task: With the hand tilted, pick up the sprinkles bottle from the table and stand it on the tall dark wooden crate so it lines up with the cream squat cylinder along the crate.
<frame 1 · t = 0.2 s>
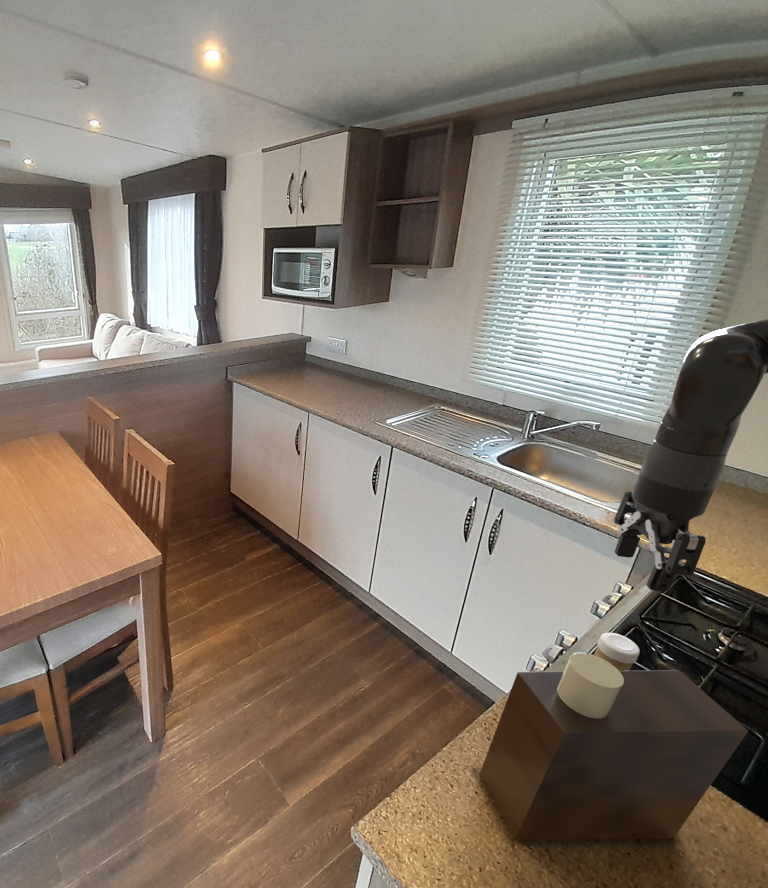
hand: (638, 571, 73), 23 cm above the countertop, tool pointing down, fingers open, 8 cm apart
cream squat cylinder: (582, 699, 56), point 21 cm above the countertop, touching dark wooden crate
dark wooden crate: (569, 807, 64), on the countertop
sprinkles bottle: (591, 704, 78), on the countertop
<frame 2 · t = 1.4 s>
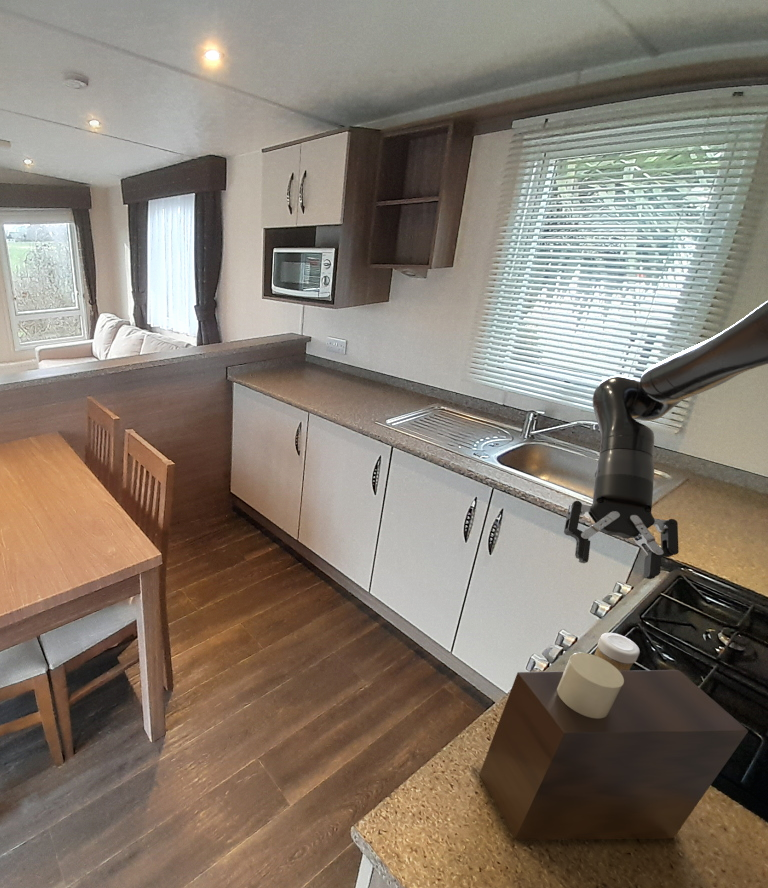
hand: (615, 569, 79), 19 cm above the countertop, tool tilted 45°, fingers open, 8 cm apart
nothing on the countertop moved.
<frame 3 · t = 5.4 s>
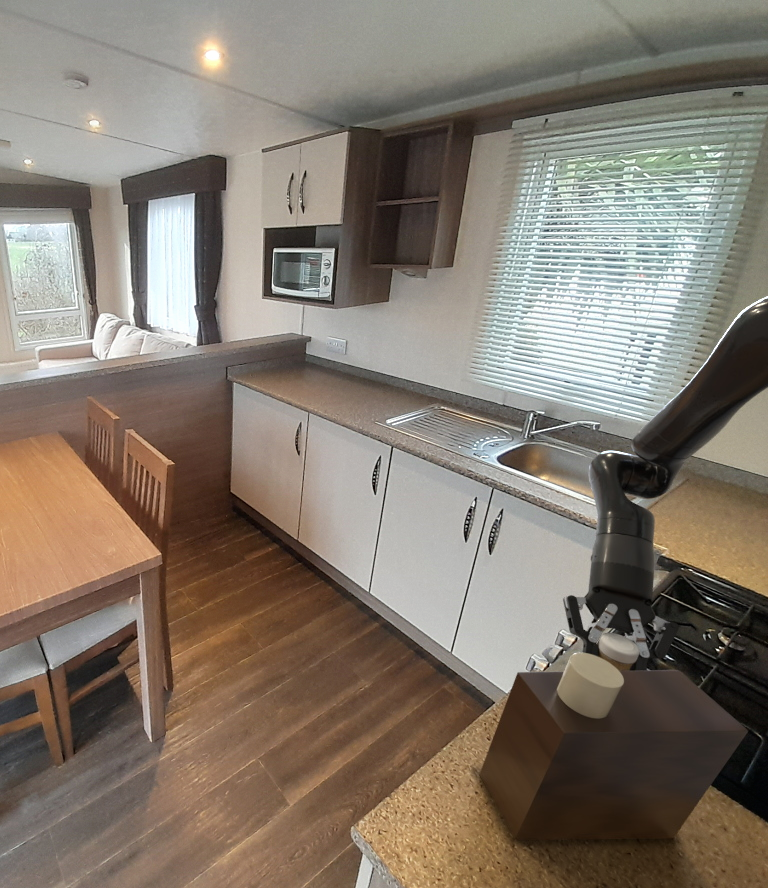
hand: (612, 674, 73), 9 cm above the countertop, tool tilted 45°, fingers closed on sprinkles bottle, 4 cm apart
sprinkles bottle: (591, 704, 78), on the countertop, touching gripper
everything else where it was.
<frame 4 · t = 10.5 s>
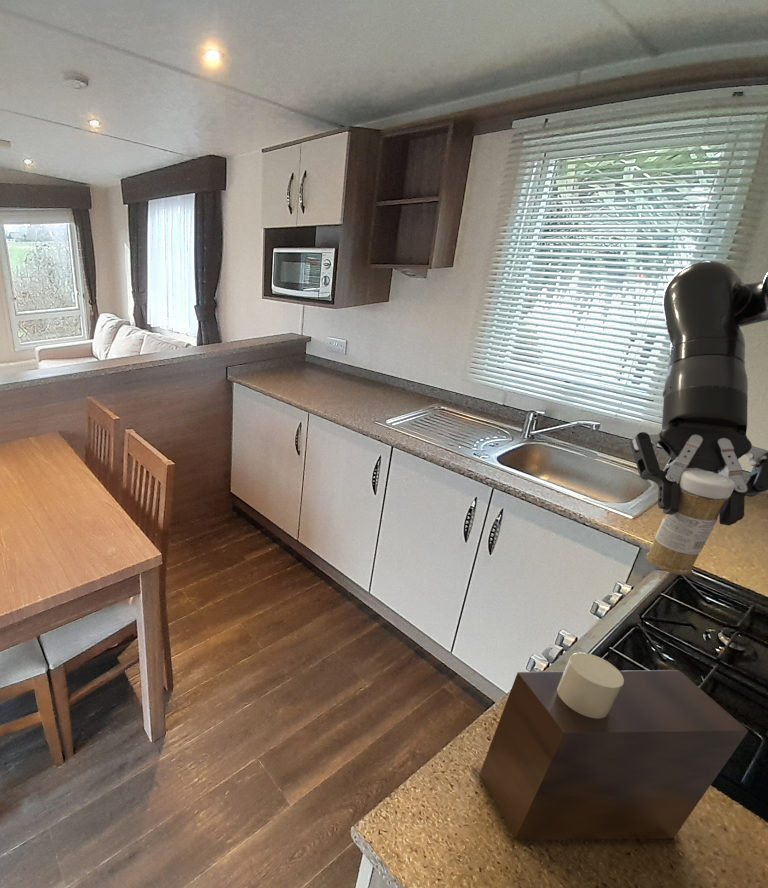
hand: (699, 517, 59), 38 cm above the countertop, tool tilted 45°, fingers closed on sprinkles bottle, 4 cm apart
sprinkles bottle: (666, 566, 64), point 30 cm above the countertop, touching gripper
everything else where it was.
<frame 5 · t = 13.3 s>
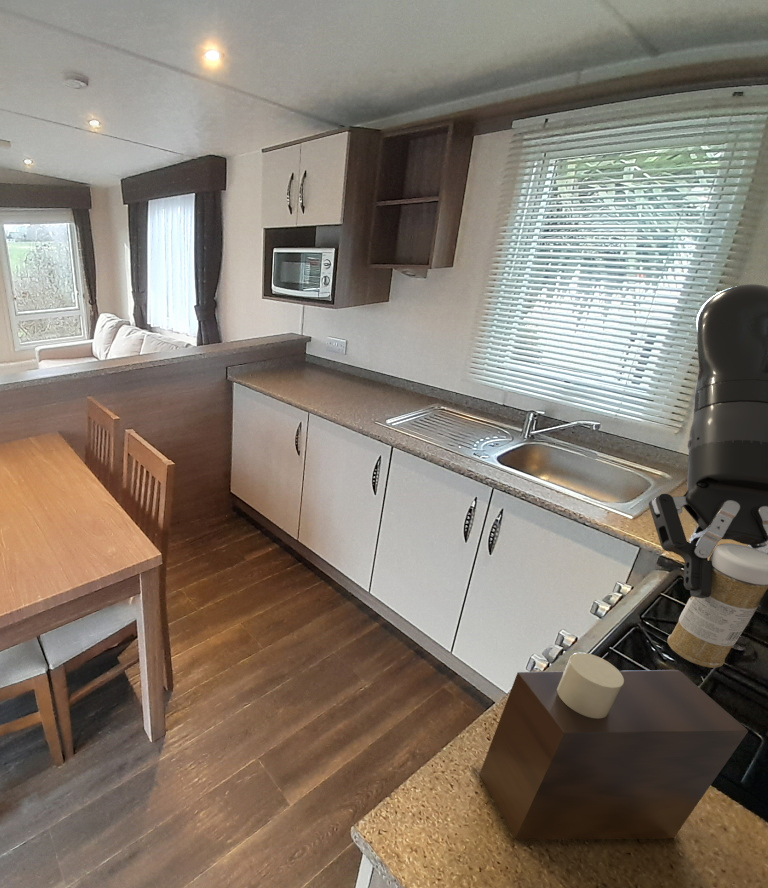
hand: (736, 604, 48), 37 cm above the countertop, tool tilted 45°, fingers closed on sprinkles bottle, 4 cm apart
sprinkles bottle: (692, 654, 53), point 28 cm above the countertop, touching gripper
everything else where it was.
when the fingers open (30 cm above the countertop, at t = 15.7 s): sprinkles bottle stays where it is, resting on dark wooden crate.
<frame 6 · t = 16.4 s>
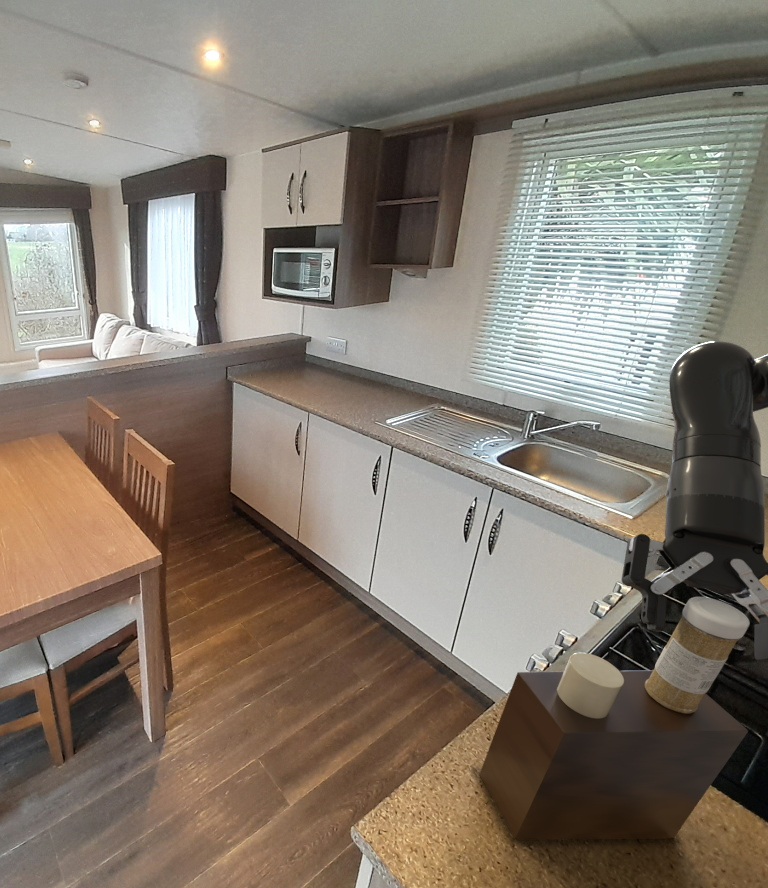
hand: (709, 645, 51), 31 cm above the countertop, tool tilted 45°, fingers open, 8 cm apart
sprinkles bottle: (668, 699, 56), point 21 cm above the countertop, touching dark wooden crate
everything else where it was.
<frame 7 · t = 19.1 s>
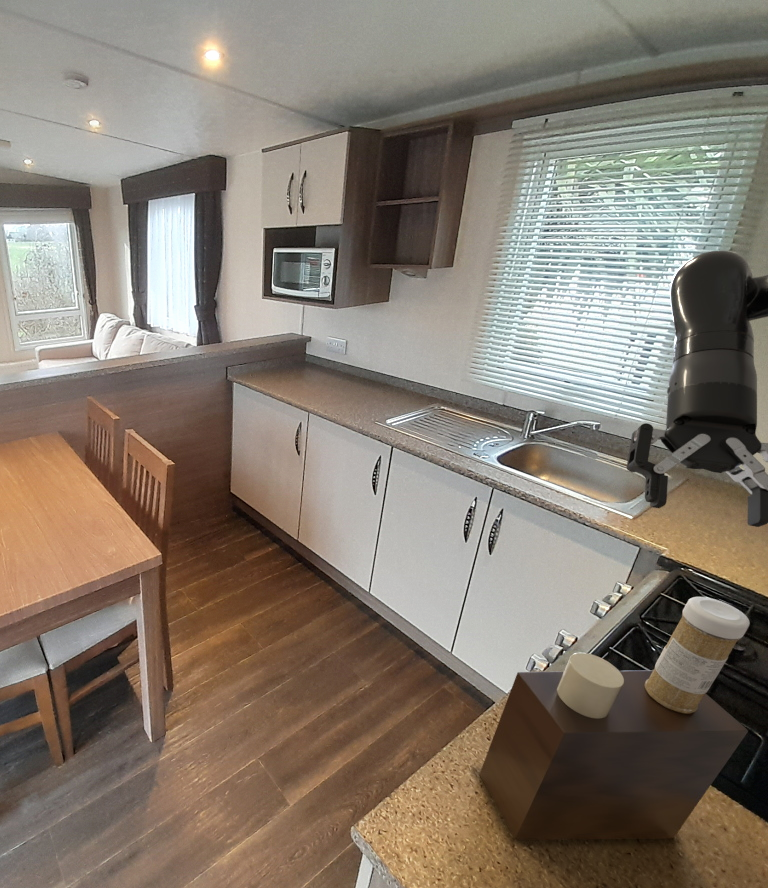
hand: (706, 515, 56), 41 cm above the countertop, tool tilted 45°, fingers open, 8 cm apart
nothing on the countertop moved.
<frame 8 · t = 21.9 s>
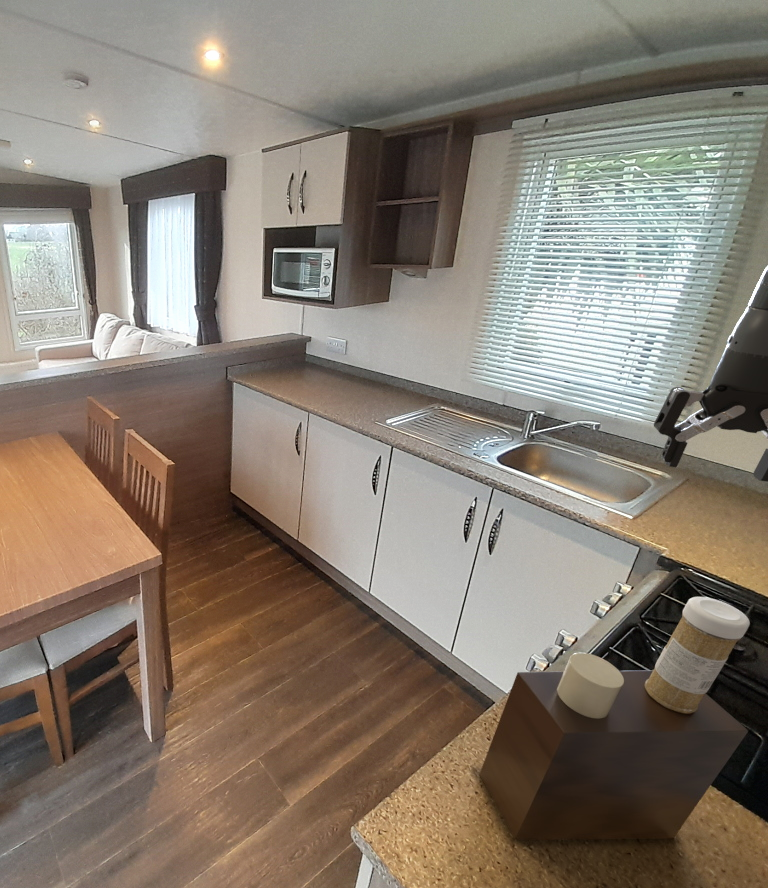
hand: (713, 471, 62), 42 cm above the countertop, tool pointing down, fingers open, 8 cm apart
nothing on the countertop moved.
at the end: sprinkles bottle 0.3 cm from the target spot on the countertop beside the cream squat cylinder, resting on dark wooden crate; sprinkles bottle tilted 0°; the gripper is holding nothing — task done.
